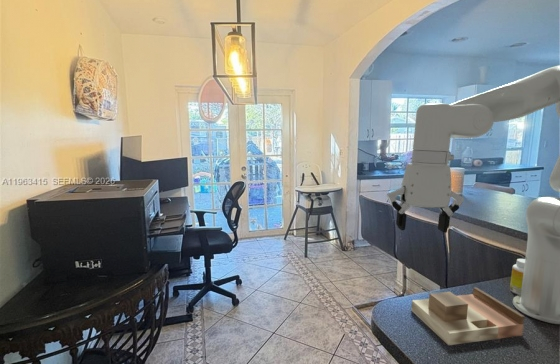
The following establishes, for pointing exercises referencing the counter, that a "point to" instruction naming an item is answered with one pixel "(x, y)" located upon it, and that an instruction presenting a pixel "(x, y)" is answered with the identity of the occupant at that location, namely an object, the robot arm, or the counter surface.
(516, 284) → the supplement bottle
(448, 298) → the block
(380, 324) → the counter surface
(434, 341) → the counter surface
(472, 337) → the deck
